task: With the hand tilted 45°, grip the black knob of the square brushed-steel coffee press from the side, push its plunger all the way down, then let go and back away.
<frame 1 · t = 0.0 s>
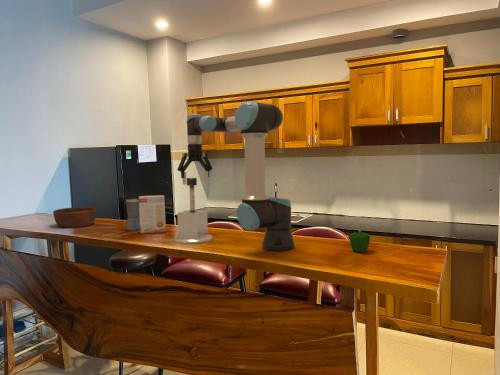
hand: (195, 183, 196), 28 cm above the table, tool pointing down, fingers open, 13 cm apart
wooden bowl: (76, 225, 236), on the table
press: (193, 239, 189), on the table
plunger: (192, 199, 187), point 21 cm above the table, slide at 0.0 cm
cracker box: (153, 232, 209), on the table
bell pepper: (359, 251, 161), on the table
moka pot: (133, 230, 218), on the table
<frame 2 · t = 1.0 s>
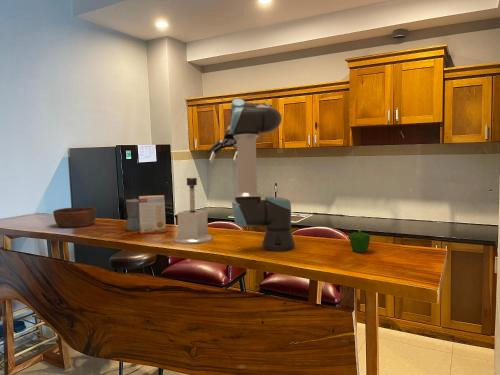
hand: (222, 161, 194), 40 cm above the table, tool tilted 45°, fingers open, 13 cm apart
nothing on the table moved.
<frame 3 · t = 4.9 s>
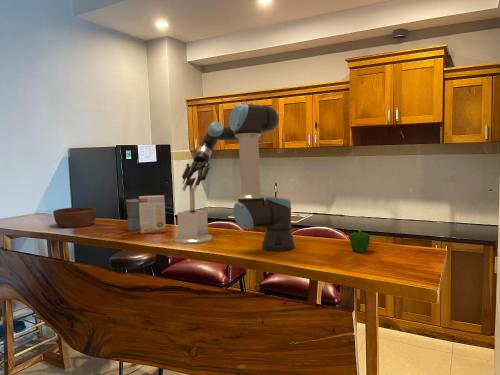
hand: (188, 189, 183), 26 cm above the table, tool tilted 45°, fingers closed on plunger, 5 cm apart
plunger: (192, 199, 187), point 21 cm above the table, slide at 0.0 cm, touching gripper
everything else where it was.
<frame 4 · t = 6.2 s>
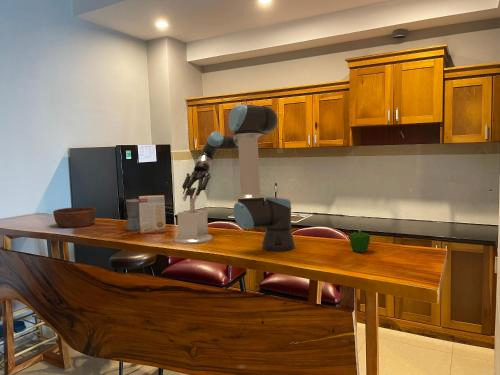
hand: (188, 199, 184), 21 cm above the table, tool tilted 45°, fingers closed on plunger, 5 cm apart
plunger: (192, 209, 188), point 16 cm above the table, slide at 5.0 cm, touching gripper
everything else where it was.
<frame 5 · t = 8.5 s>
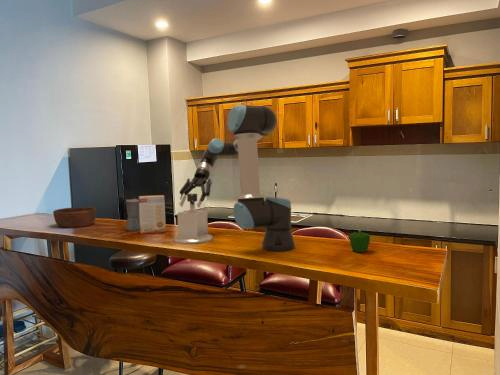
hand: (189, 205, 184), 18 cm above the table, tool tilted 45°, fingers open, 9 cm apart
plunger: (192, 215, 188), point 13 cm above the table, slide at 8.1 cm
everything else where it was.
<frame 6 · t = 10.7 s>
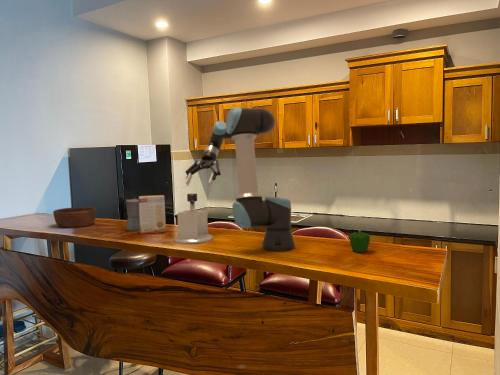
hand: (198, 184, 193), 28 cm above the table, tool tilted 45°, fingers open, 13 cm apart
nothing on the table moved.
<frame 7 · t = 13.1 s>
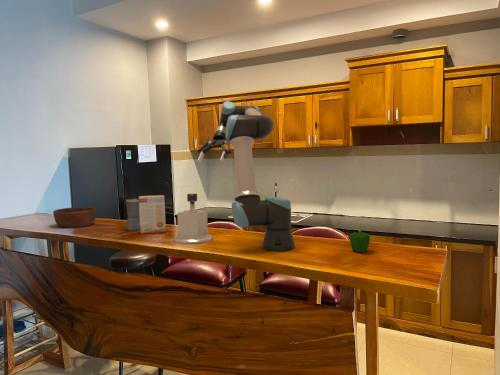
hand: (210, 161, 201), 40 cm above the table, tool tilted 45°, fingers open, 13 cm apart
nothing on the table moved.
at the end: plunger slide at 8.1 cm; the gripper is holding nothing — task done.
